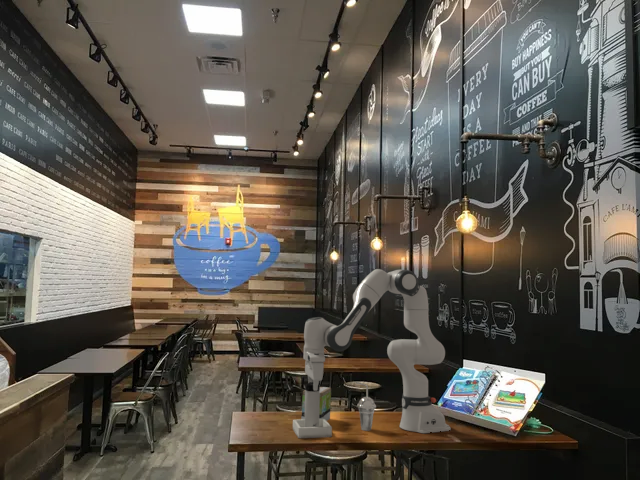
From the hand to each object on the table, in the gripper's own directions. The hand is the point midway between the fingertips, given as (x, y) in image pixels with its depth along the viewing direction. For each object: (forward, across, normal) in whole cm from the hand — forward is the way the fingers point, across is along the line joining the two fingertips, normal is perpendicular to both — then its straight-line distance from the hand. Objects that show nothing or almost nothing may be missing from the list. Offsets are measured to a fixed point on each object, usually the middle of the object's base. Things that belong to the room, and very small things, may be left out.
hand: (312, 388), depth 217 cm
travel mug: (+18, 0, 0) cm, 18 cm away
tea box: (+19, -19, +6) cm, 27 cm away
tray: (+19, 0, 0) cm, 19 cm away
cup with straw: (+19, -3, +25) cm, 31 cm away
